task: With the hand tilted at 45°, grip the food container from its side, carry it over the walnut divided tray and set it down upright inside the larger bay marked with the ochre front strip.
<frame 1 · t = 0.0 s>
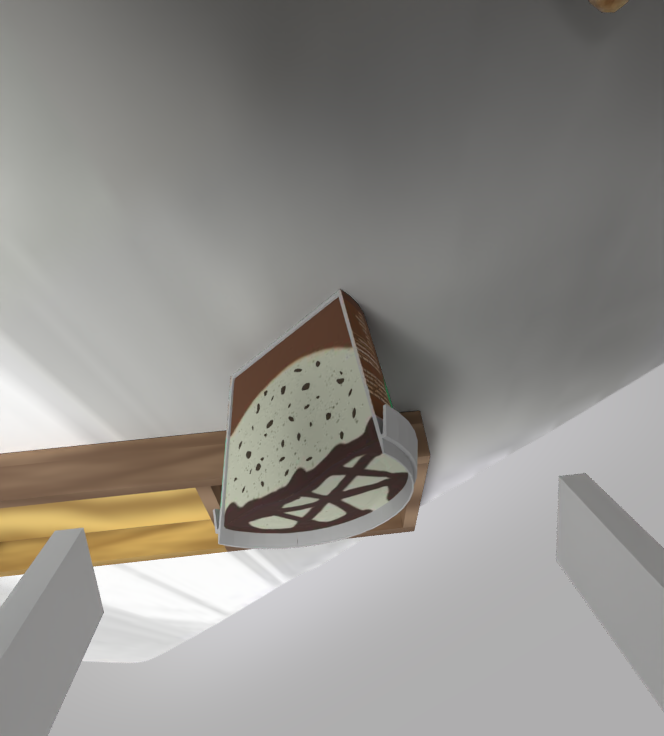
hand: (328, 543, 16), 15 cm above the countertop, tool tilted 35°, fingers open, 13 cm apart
food container: (320, 354, 34), on the countertop
walnut divided tray: (183, 480, 45), on the countertop
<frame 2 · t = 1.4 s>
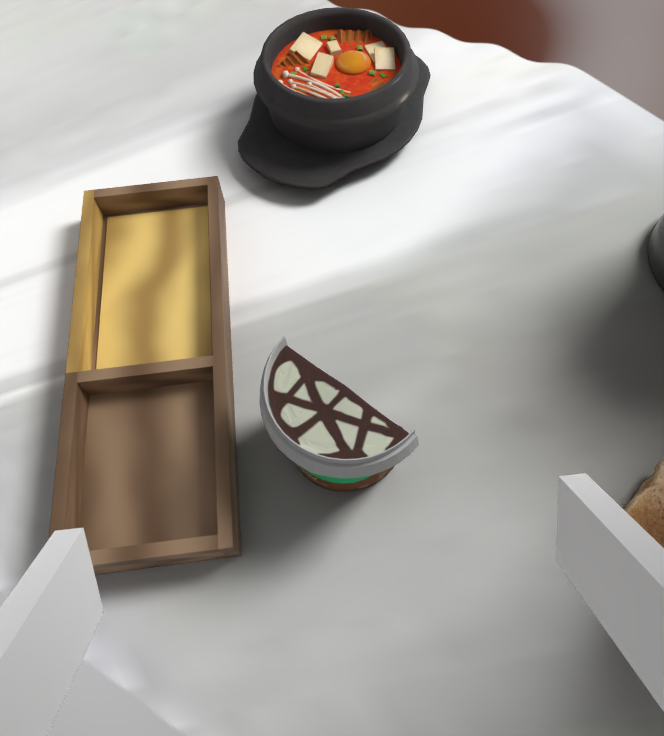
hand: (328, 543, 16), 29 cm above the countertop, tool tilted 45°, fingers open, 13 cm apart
food container: (323, 462, 47), on the countertop
walnut divided tray: (158, 359, 52), on the countertop
casserole: (337, 123, 65), on the countertop
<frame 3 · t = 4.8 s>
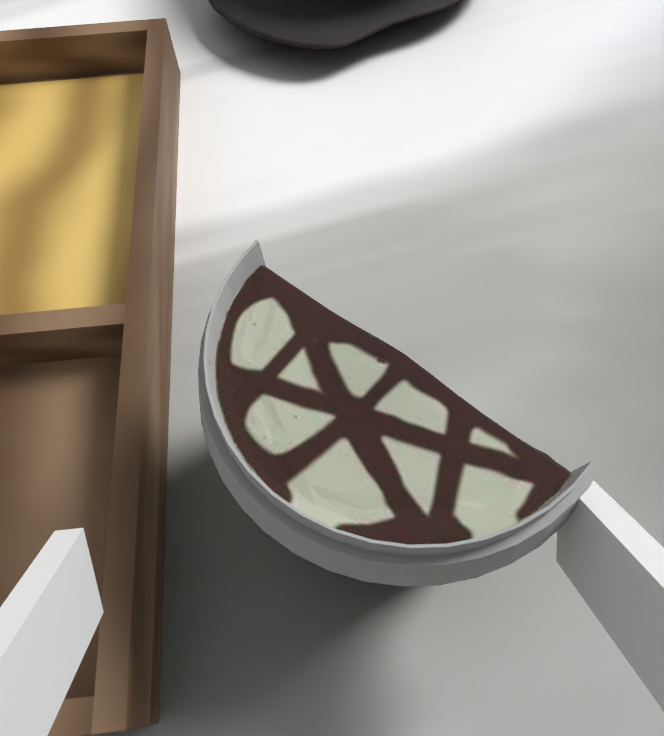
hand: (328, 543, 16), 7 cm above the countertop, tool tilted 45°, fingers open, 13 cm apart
food container: (339, 516, 24), on the countertop, touching gripper
walnut divided tray: (39, 316, 28), on the countertop
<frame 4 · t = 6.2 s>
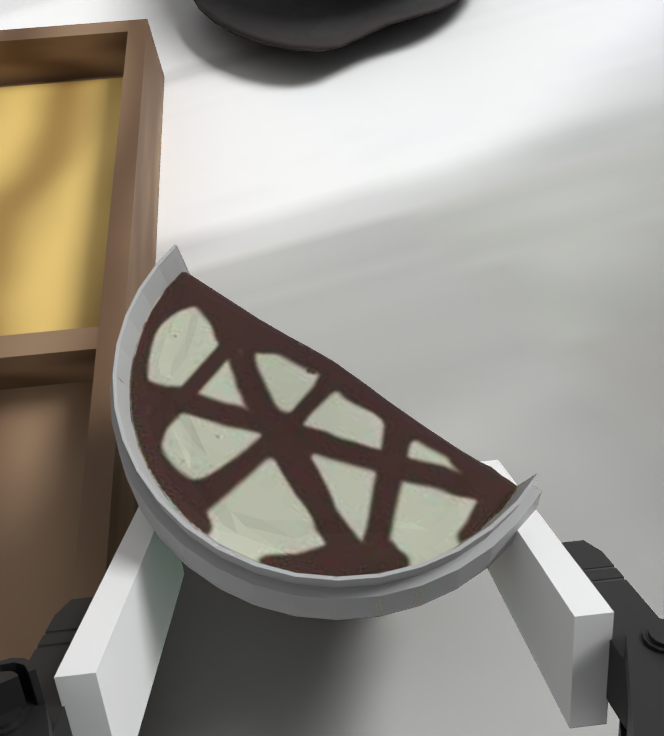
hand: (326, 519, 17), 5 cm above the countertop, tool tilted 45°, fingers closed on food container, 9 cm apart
food container: (290, 536, 22), on the countertop, touching gripper
walnut divided tray: (9, 337, 27), on the countertop
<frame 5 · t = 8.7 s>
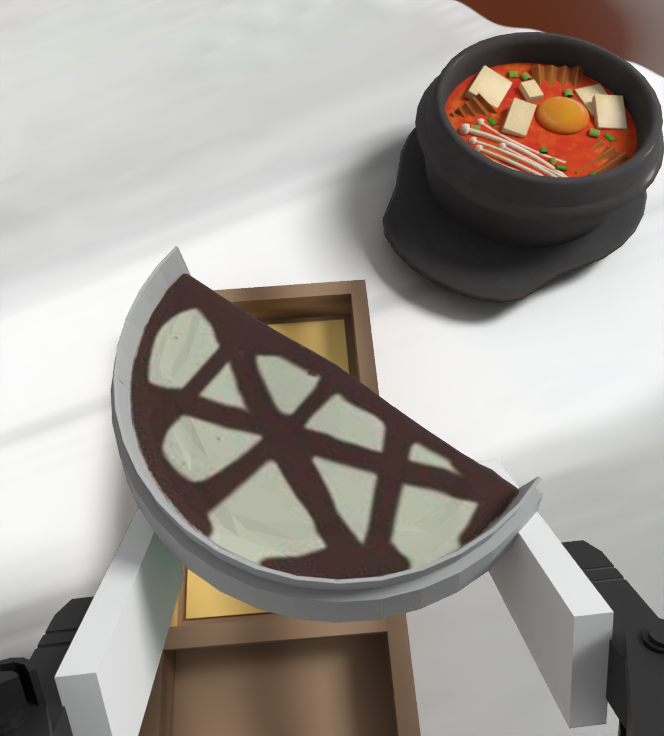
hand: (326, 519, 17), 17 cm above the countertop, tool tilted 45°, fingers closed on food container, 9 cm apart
food container: (290, 538, 22), point 12 cm above the countertop, touching gripper
walnut divided tray: (280, 579, 33), on the countertop
casserole: (513, 193, 46), on the countertop
when the fingers open (8 cm above the countertop, at t = 11.7 s): food container drops 1 cm, resting on walnut divided tray.
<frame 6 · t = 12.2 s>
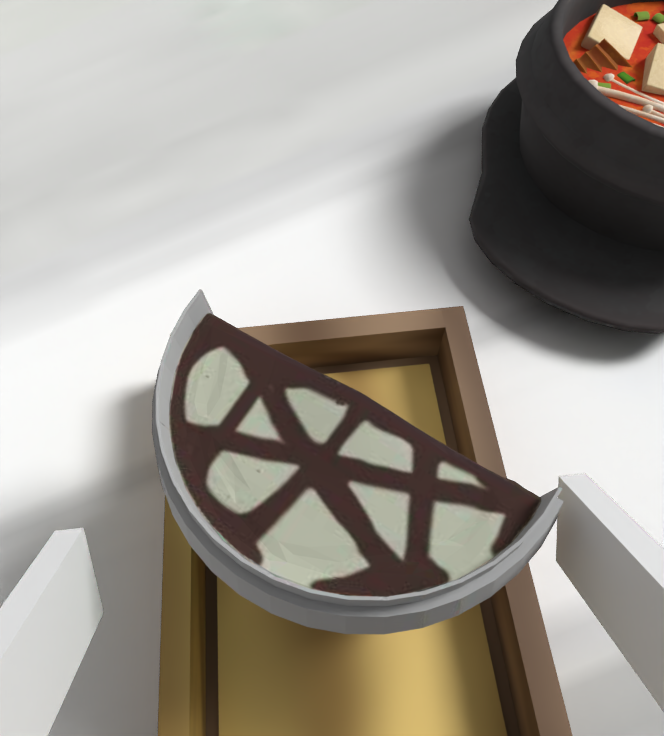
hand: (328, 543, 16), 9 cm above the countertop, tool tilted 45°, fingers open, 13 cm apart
food container: (316, 551, 23), point 1 cm above the countertop, touching walnut divided tray
casserole: (632, 181, 34), on the countertop
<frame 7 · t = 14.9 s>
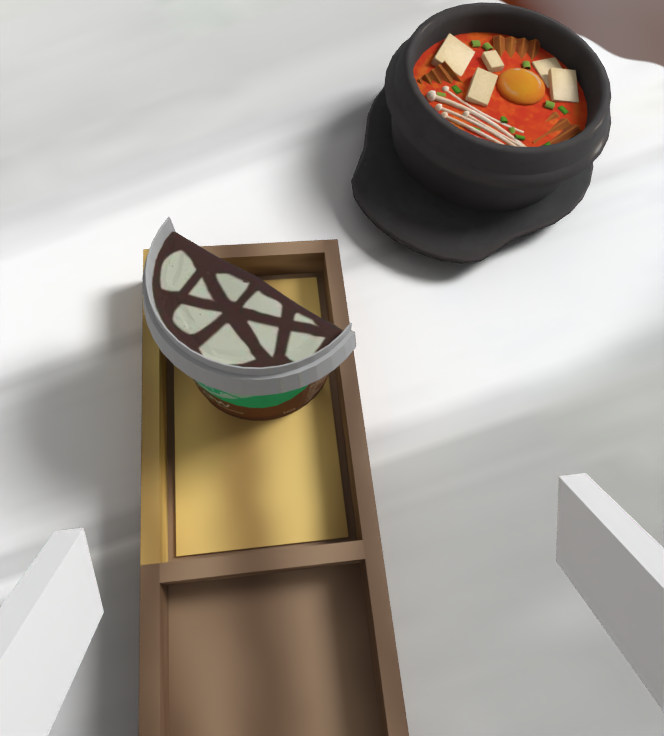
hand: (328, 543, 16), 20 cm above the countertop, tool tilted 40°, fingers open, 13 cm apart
food container: (237, 387, 38), point 1 cm above the countertop, touching walnut divided tray
walnut divided tray: (262, 519, 36), on the countertop
casserole: (472, 159, 49), on the countertop
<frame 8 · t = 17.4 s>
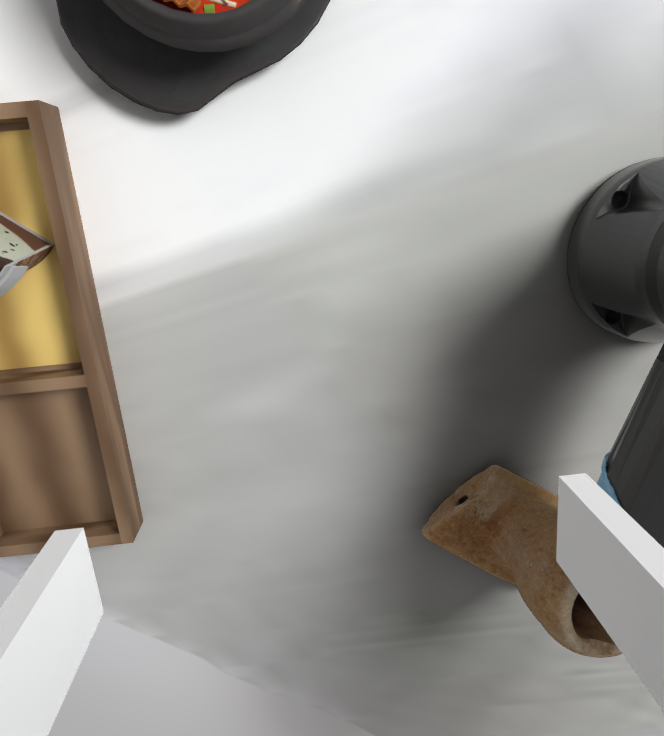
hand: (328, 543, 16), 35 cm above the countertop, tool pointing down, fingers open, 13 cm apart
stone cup: (512, 511, 57), on the countertop
walnut divided tray: (26, 343, 49), on the countertop
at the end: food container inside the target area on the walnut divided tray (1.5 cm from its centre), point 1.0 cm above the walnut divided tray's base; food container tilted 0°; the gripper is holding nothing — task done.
